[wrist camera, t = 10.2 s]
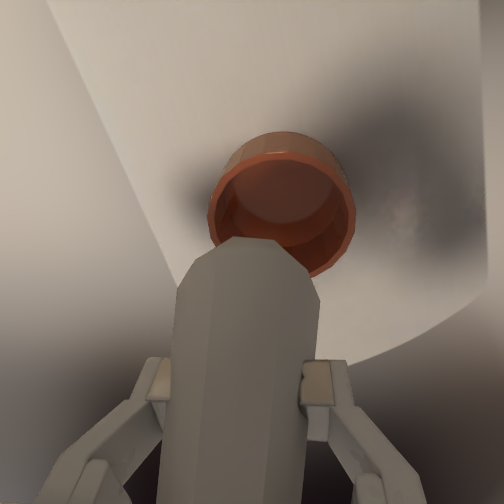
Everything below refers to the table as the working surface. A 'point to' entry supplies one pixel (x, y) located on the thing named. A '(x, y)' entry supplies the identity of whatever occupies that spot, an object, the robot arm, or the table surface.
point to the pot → (285, 199)
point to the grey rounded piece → (238, 378)
